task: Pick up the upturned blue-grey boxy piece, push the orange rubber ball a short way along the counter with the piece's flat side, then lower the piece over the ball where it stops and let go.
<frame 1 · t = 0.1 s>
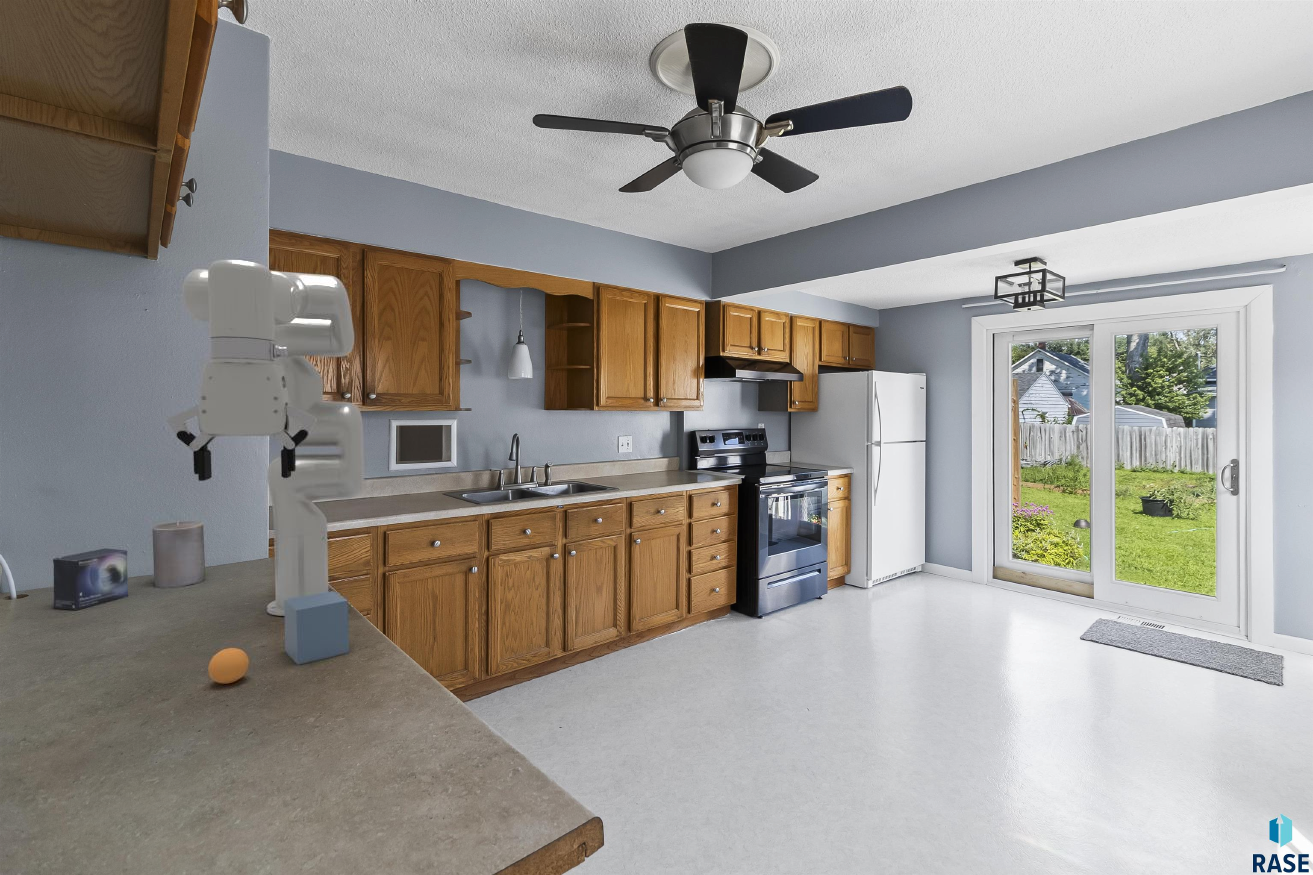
hand: (246, 478, 87), 31 cm above the counter, tool pointing down, fingers open, 9 cm apart
blue-grey boxy piece: (317, 651, 106), on the counter
pillar candle: (180, 583, 149), on the counter
small box: (92, 603, 133), on the counter
ball: (228, 665, 94), on the counter
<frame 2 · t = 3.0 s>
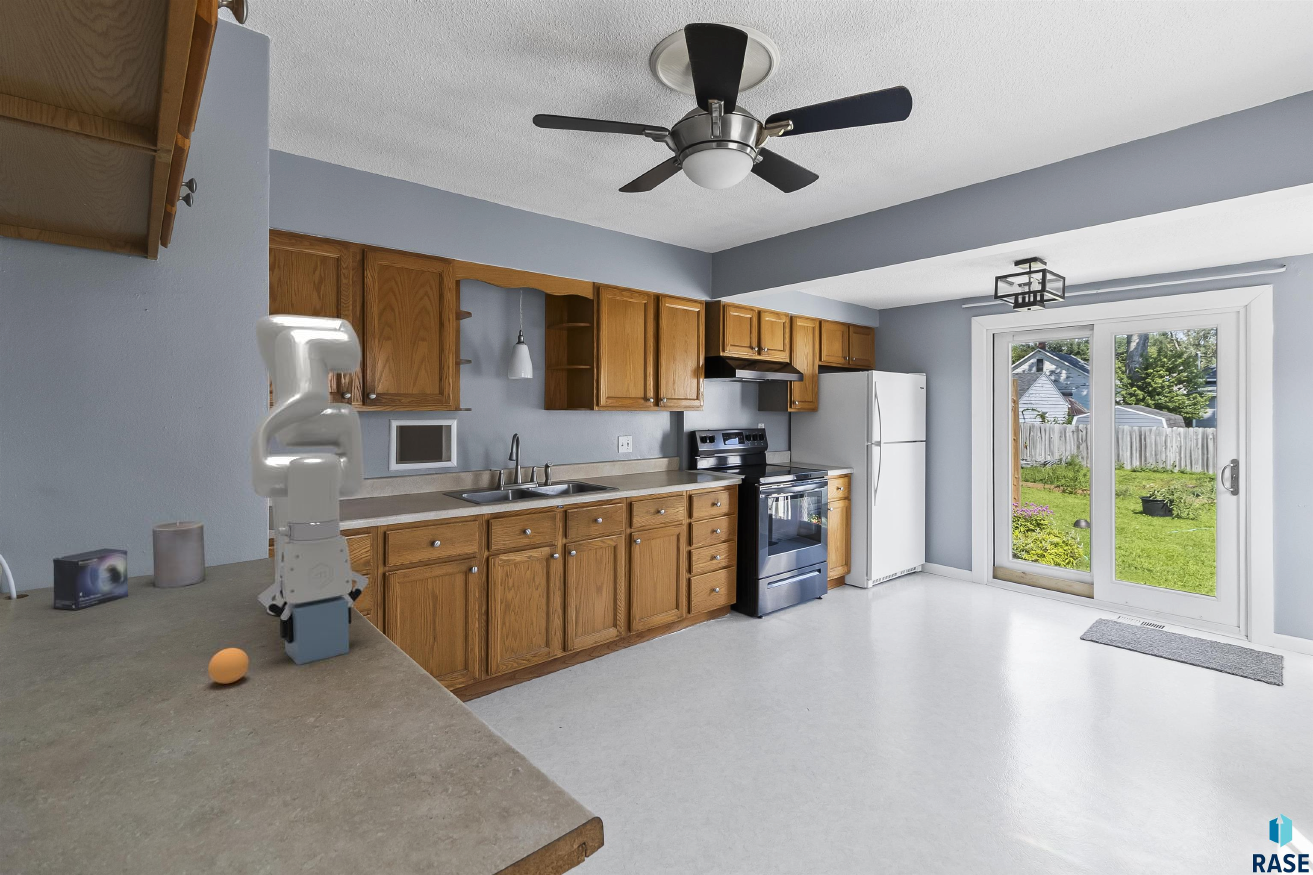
hand: (316, 634, 105), 3 cm above the counter, tool pointing down, fingers closed on blue-grey boxy piece, 7 cm apart
blue-grey boxy piece: (317, 651, 106), on the counter, touching gripper
everything else where it was.
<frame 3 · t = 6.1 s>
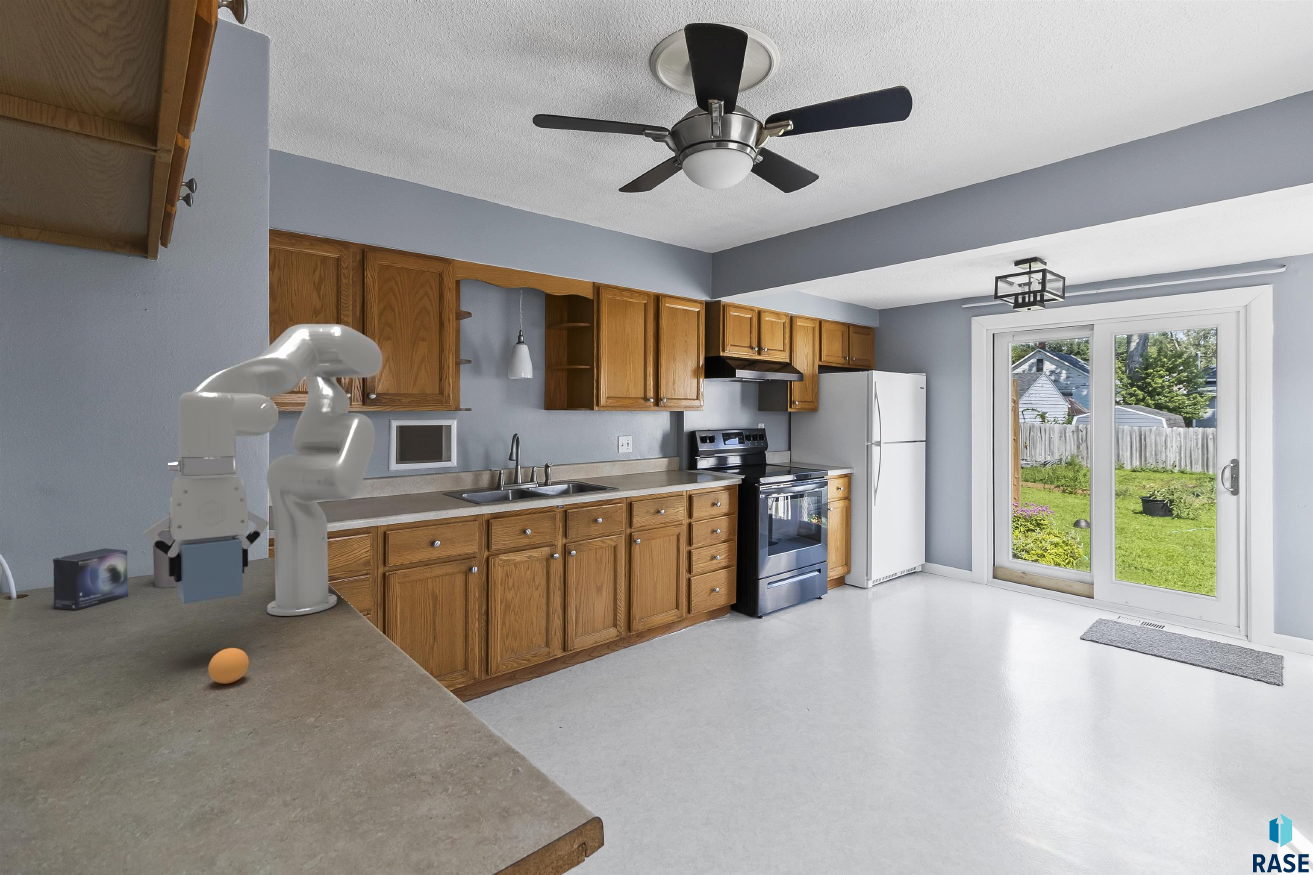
hand: (209, 575, 102), 14 cm above the counter, tool pointing down, fingers closed on blue-grey boxy piece, 7 cm apart
blue-grey boxy piece: (209, 594, 102), point 11 cm above the counter, touching gripper
everything else where it was.
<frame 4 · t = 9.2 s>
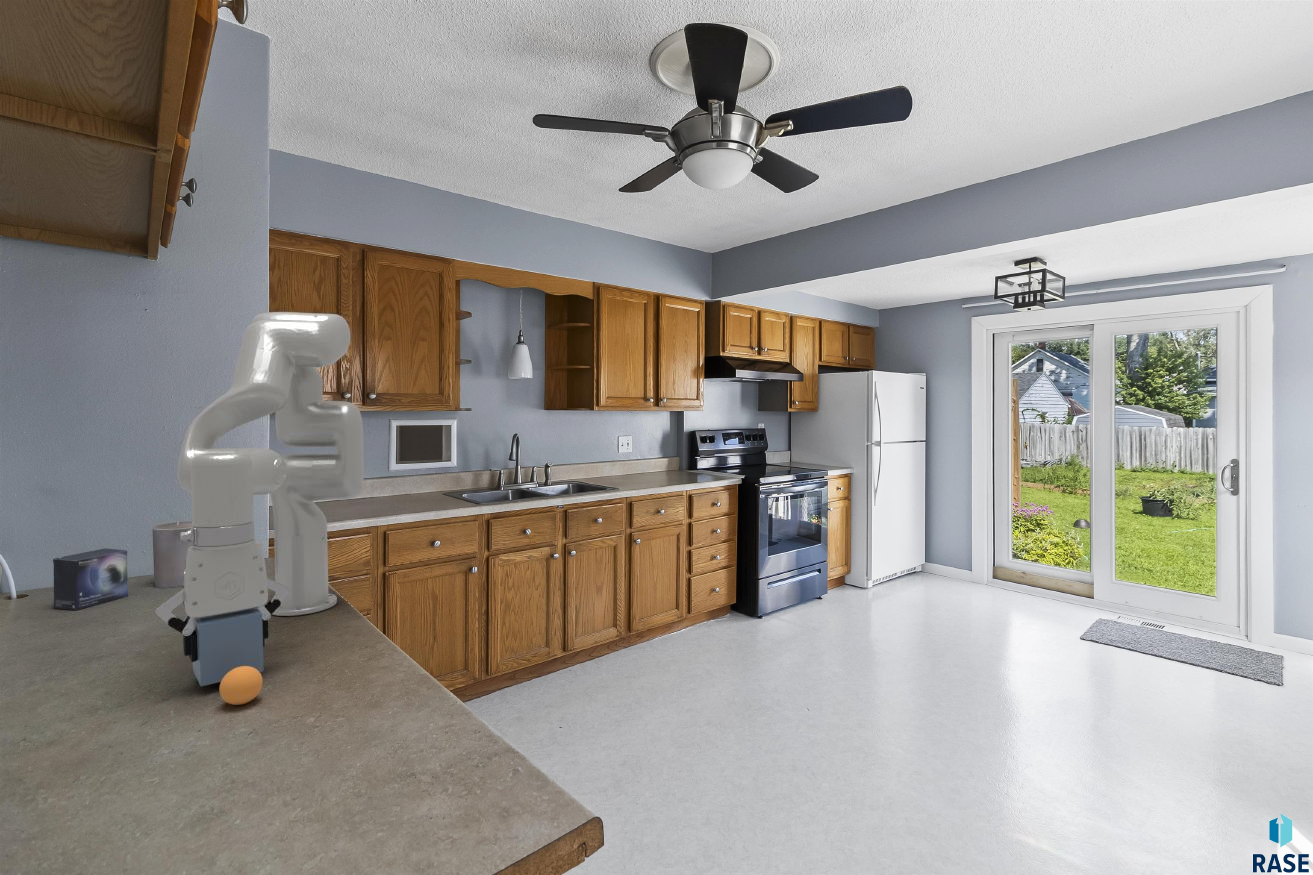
hand: (227, 650, 95), 4 cm above the counter, tool pointing down, fingers closed on blue-grey boxy piece, 7 cm apart
blue-grey boxy piece: (228, 670, 95), point 1 cm above the counter, touching gripper
ball: (241, 685, 87), on the counter
everything else where it was.
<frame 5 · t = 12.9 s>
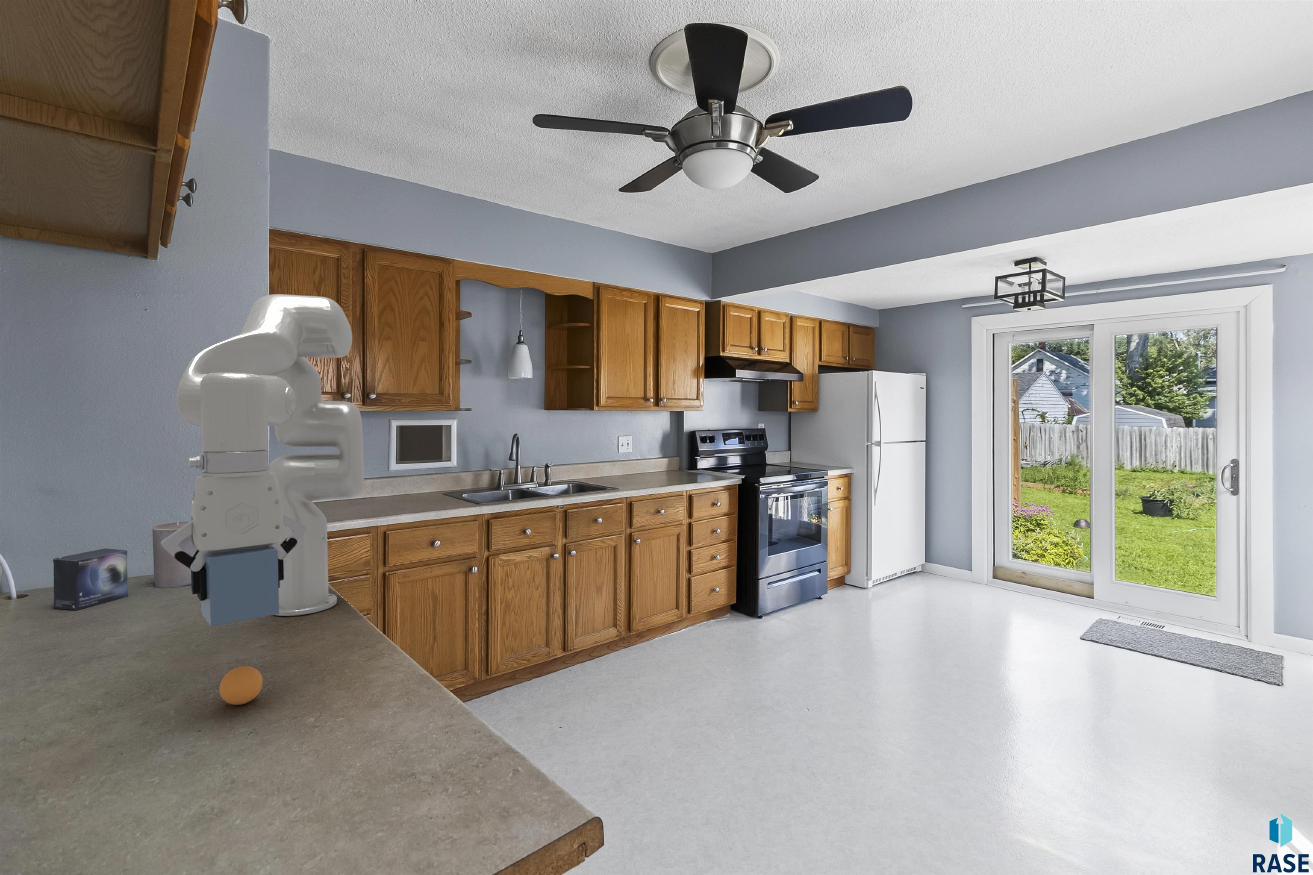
hand: (239, 591, 86), 16 cm above the counter, tool pointing down, fingers closed on blue-grey boxy piece, 7 cm apart
blue-grey boxy piece: (240, 613, 86), point 13 cm above the counter, touching gripper
everything else where it was.
when the fingers open (3 cm above the counter, at t = 16.1 s): blue-grey boxy piece stays where it is, on the counter.
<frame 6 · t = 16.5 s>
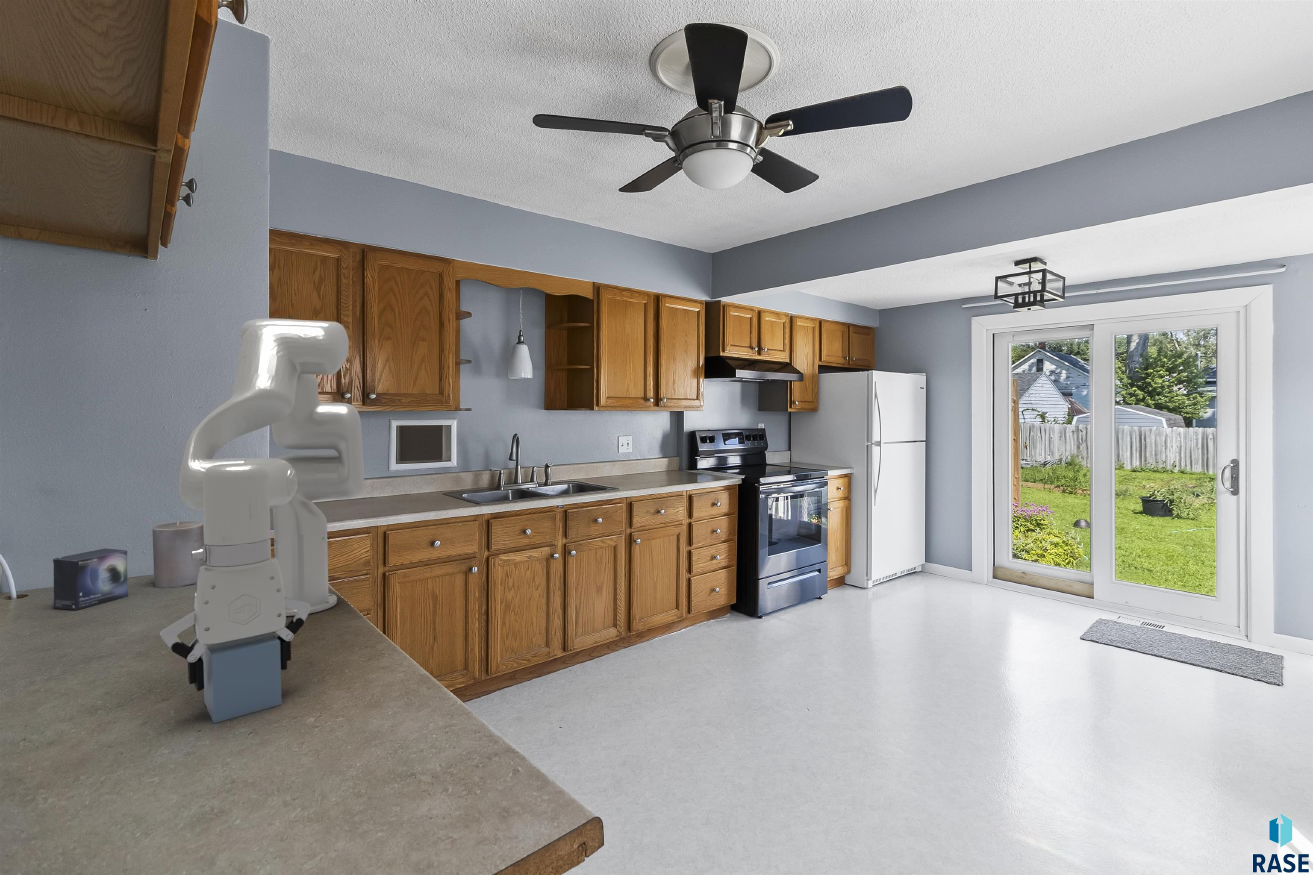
hand: (241, 676, 87), 4 cm above the counter, tool pointing down, fingers open, 9 cm apart
blue-grey boxy piece: (242, 703, 87), on the counter
everything else where it was.
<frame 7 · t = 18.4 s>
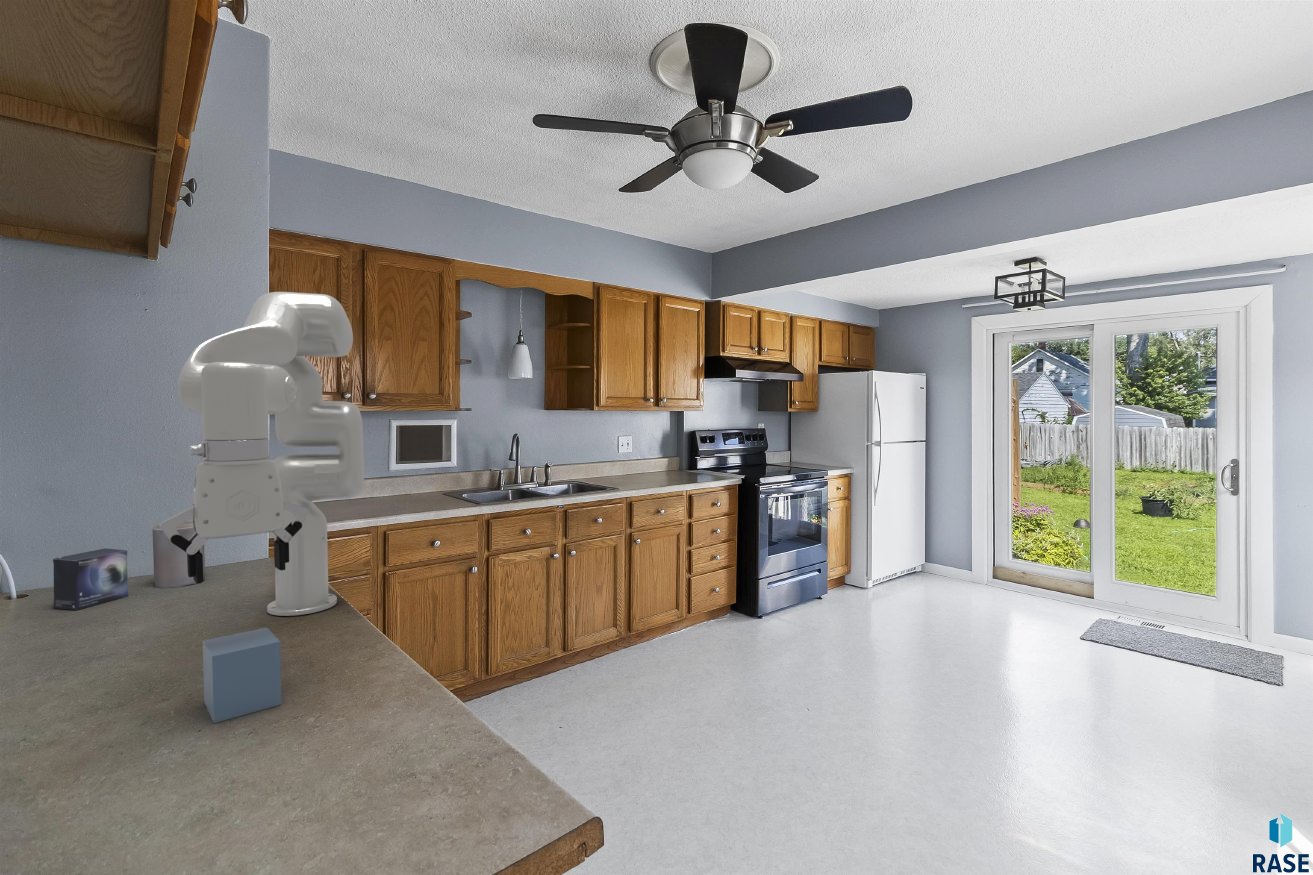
hand: (240, 574, 88), 18 cm above the counter, tool pointing down, fingers open, 9 cm apart
nothing on the counter moved.
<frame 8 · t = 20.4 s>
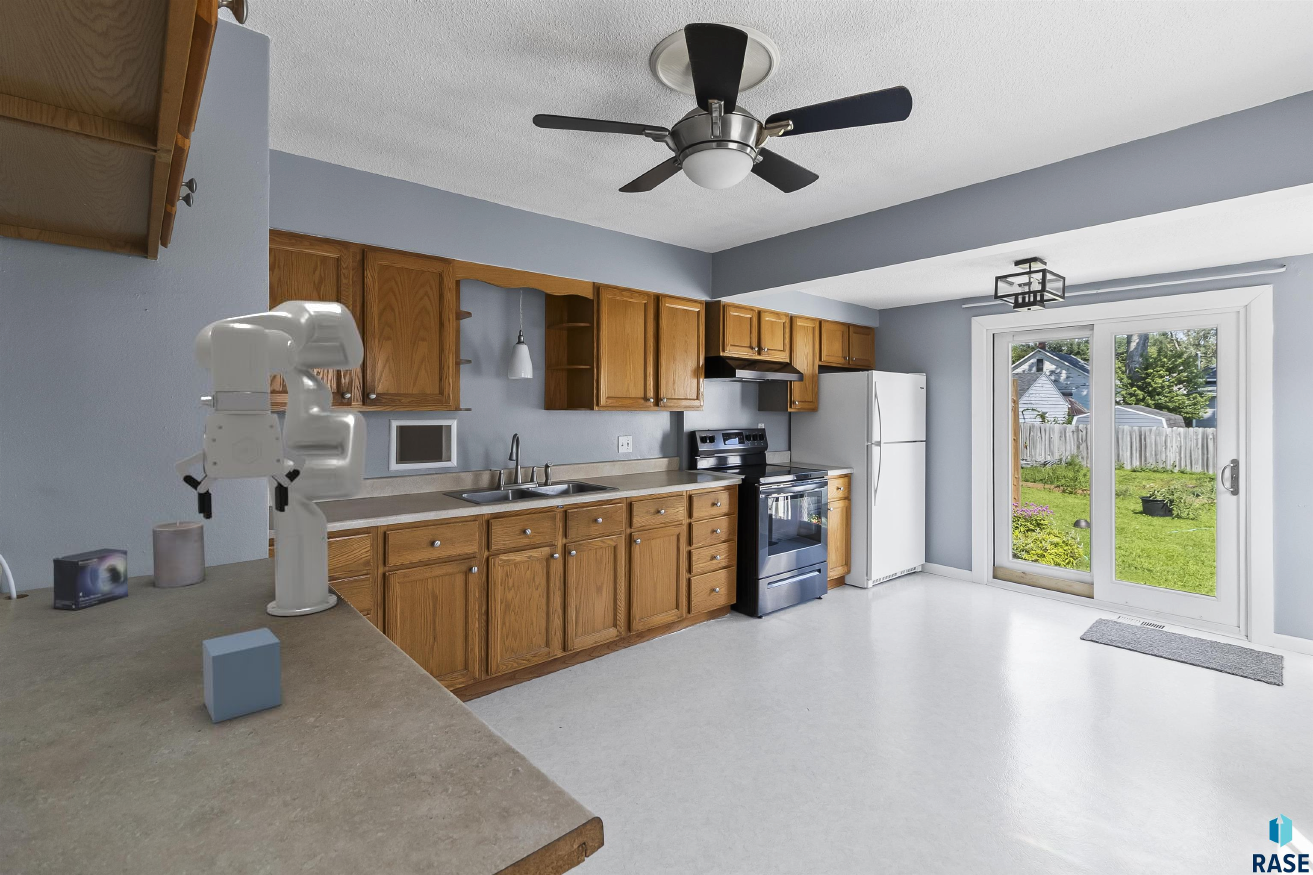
hand: (245, 514, 98), 24 cm above the counter, tool pointing down, fingers open, 9 cm apart
nothing on the counter moved.
at the end: ball 0.5 cm from the blue-grey boxy piece (horizontally); blue-grey boxy piece on the counter; ball moved 9.2 cm from its start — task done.
